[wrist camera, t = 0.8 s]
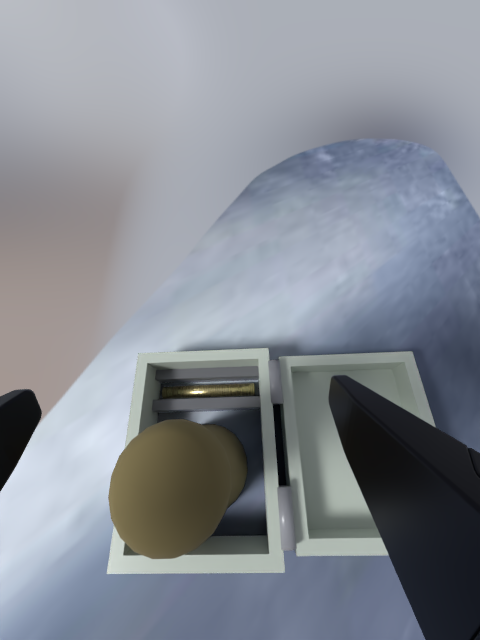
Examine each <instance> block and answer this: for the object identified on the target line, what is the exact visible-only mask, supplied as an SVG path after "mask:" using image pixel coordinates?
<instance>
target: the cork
mask: <svg viewBox="0 0 480 640" xmlns="http://www.w3.org/2000/svg"><path fill="white" fill-rule="evenodd" d="M246 476H247V457H246V454H245V451H244V448H243V445H242V444H241V442H240V441H239V440H238V438H237V437H236V436H235V434H233V433H232V432H231V431H229V430H228V429H226V428H225V427H222V426H218V425H215V424H206V425H201V424H198V423H195V422H192V421H188V420H185V419H172V420H165V421H162V422H159V423H157V424H154V425H152V426H149V427H148V428H146V429H145V430H144V431H142V432H141V433H140V434H138V435H137V436H136V437H135V438H133V439H132V440H131V441H130V443H129V444H128V445H127V447H126V448H125V449H124V451H123V452H122V453H121V455H120V456H119V458H118V461H117V463H116V466H115V468H114V471H113V473H112V475H111V482H110V489H109V497H108V498H109V506H110V513H111V519H112V521H113V524H114V526H115V528H116V530H117V532H118V534H119V536H120V538H121V539H122V540H123V541H124V542H125V543H126V544H127V545H128V546H129V547H130V548H131V549H132V550H133V551H134V552H136V553H138V554H141V555H143V556H146V557H148V558H151V559H173V558H177V557H180V556H182V555H184V554H186V553H189V552H191V551H193V550H195V549H197V548H198V547H199V546H200V545H201V544H202V543H204V542H205V541H206V540H207V539H208V538H209V537H210V536H211V535H212V534H213V533H214V531H215V530H216V528H217V526H218V524H219V522H220V521H221V519H222V517H223V515H224V514H225V511H226V509H227V508H228V507H229V506H230V505H231V504H232V503H233V502H234V501H235V500H237V498H238V496H239V495H240V493H241V491H242V489H243V487H244V485H245V480H246Z"/></svg>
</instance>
